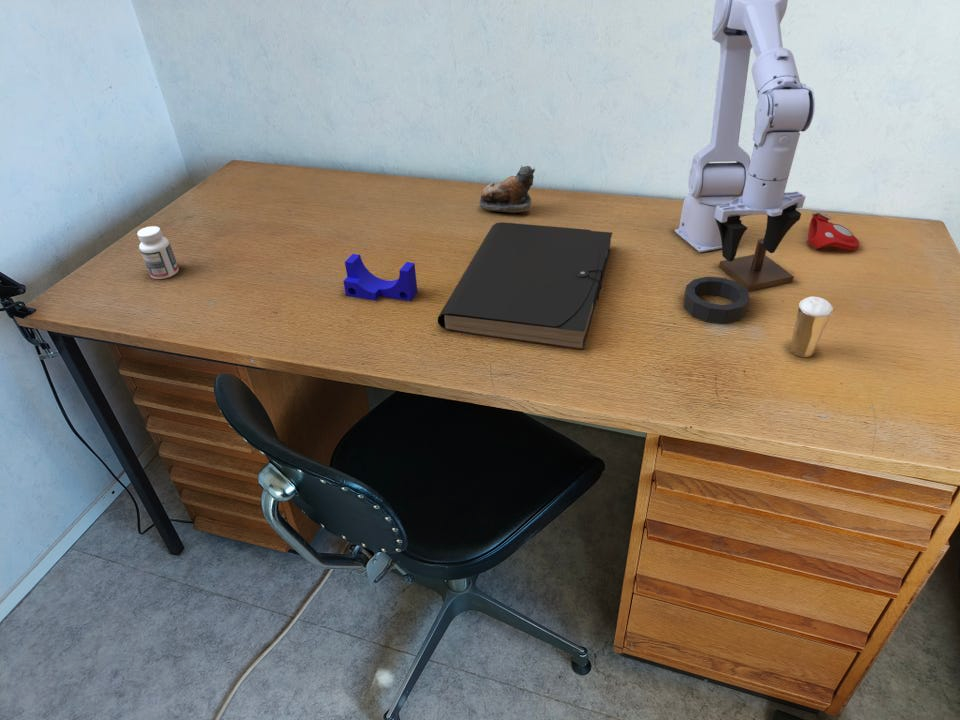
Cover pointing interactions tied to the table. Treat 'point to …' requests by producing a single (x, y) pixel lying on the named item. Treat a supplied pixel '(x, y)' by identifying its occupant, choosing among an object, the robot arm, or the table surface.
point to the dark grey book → (531, 285)
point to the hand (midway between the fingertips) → (748, 254)
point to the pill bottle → (157, 253)
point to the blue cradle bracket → (378, 282)
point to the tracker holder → (830, 233)
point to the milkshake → (810, 325)
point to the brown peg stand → (756, 270)
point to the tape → (716, 311)
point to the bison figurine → (509, 193)
